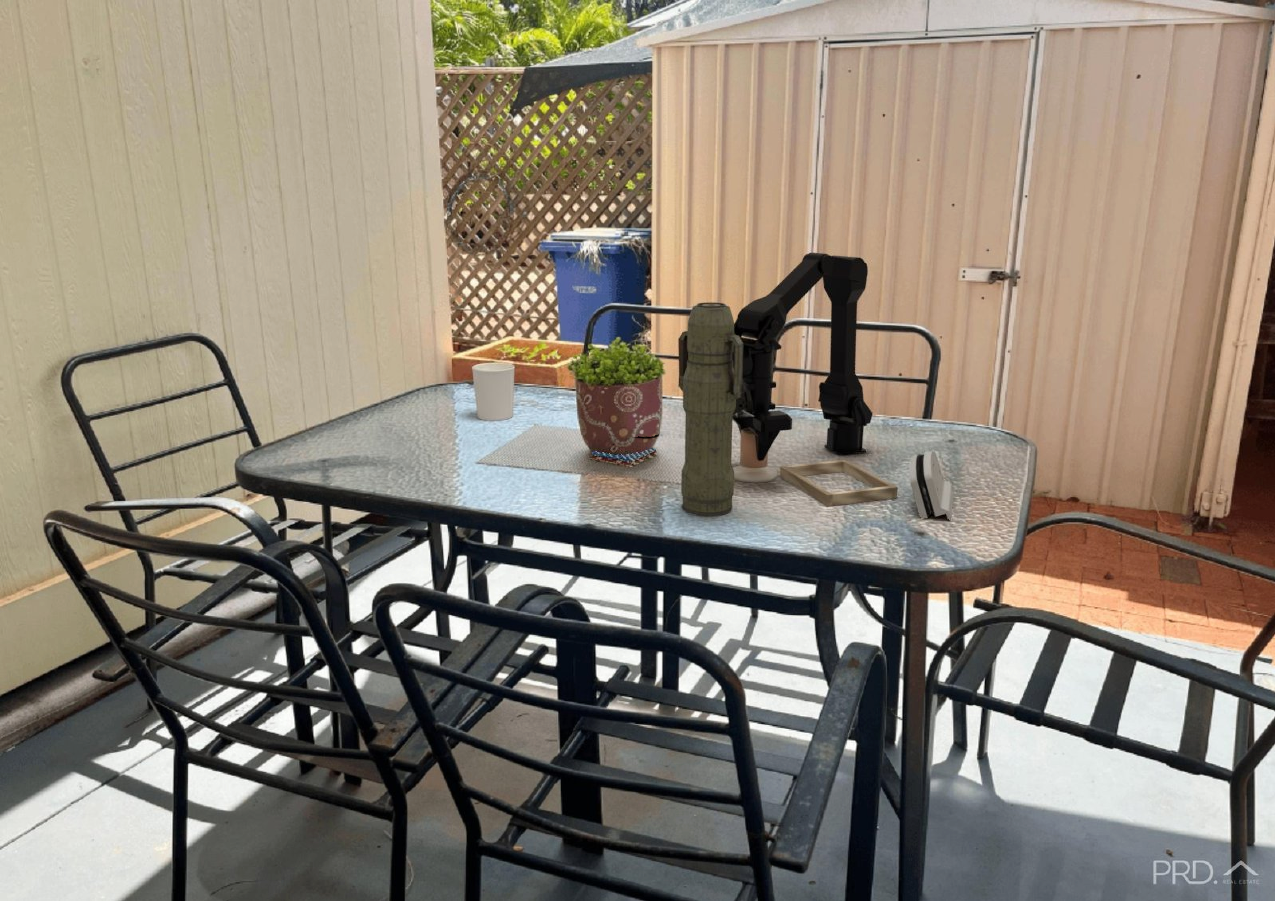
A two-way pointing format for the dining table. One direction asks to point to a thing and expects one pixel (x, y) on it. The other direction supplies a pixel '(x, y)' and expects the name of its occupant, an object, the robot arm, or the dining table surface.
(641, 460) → the woven mat
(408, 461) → the dining table surface
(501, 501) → the dining table surface
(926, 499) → the light grey slab casing
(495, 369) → the light grey cup
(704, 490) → the thermos
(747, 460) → the terracotta pot
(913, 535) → the dining table surface
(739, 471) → the cream saucer
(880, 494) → the wooden frame
